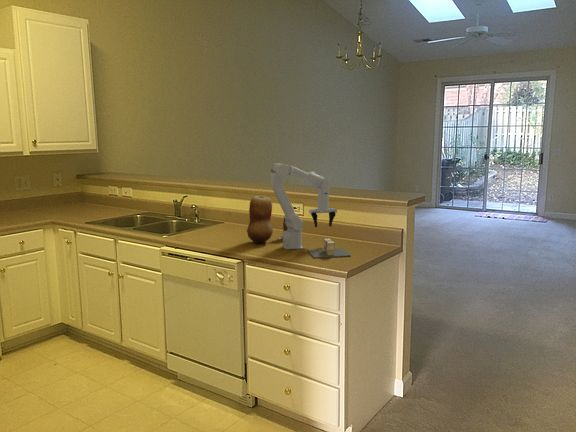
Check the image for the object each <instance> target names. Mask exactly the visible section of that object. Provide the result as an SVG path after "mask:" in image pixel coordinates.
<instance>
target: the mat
mask: <svg viewBox="0 0 576 432" xmlns="http://www.w3.org/2000/svg"><path fill="white" fill-rule="evenodd" d="M307 252H308V253H309V255H310V256H311V257H312V258H313V259H326V258H328V259H329V258H331V259H332V257H333V258H346V257H347V258H351V257H352V255H351V253H349V252H348V251H347V250H346V249H344V248H342V247H341V248H335V255H328V254H327V253H326V252H325V251H324V248H321V249H318V248H317V249H308V250H307Z"/></svg>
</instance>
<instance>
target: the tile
mask: <svg viewBox="0 0 576 432" xmlns="http://www.w3.org/2000/svg"><path fill="white" fill-rule="evenodd" d="M335 244H336V243H335V242H334V241H333V240H332V239H331V238H324V239H323V249H324V251H325V252H326V253H327V254H328V255H335V249H336V248H335Z"/></svg>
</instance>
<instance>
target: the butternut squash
mask: <svg viewBox="0 0 576 432" xmlns="http://www.w3.org/2000/svg"><path fill="white" fill-rule="evenodd" d="M249 201H250V202H249V207H248V209H249V210H248V213H249V214H248V215H249V223H248V226H247V230H246V232H247V236H248V238H249V239H250V240H251V241H252V242H253V243H255V244H263V243H266V242H267V241H268V240H270V239H271V237H272V235H273V231H274V230H273V226H272V223H271V217H272V213H273V202H272V198H270V197H268V196H264V195H263V196H262V195H256V196H253V197H251V199H250V200H249Z"/></svg>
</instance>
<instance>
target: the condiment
mask: <svg viewBox="0 0 576 432" xmlns="http://www.w3.org/2000/svg"><path fill="white" fill-rule="evenodd" d="M282 224H283V226H282V227H283V228H282V230H283V231H287V228H288V227H287V226H286V224H285V218H284V217H283V223H282ZM283 231H282V232H283ZM278 240H283V235H280V237H279V238H278Z"/></svg>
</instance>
